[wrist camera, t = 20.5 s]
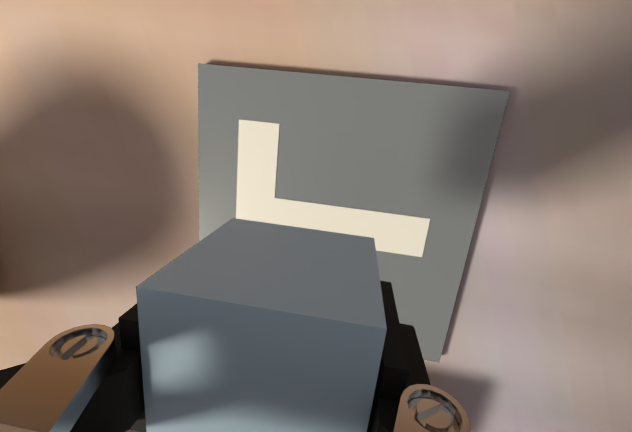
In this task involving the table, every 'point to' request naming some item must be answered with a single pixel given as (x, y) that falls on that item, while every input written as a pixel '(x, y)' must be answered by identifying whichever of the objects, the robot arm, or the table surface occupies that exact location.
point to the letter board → (354, 170)
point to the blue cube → (263, 332)
